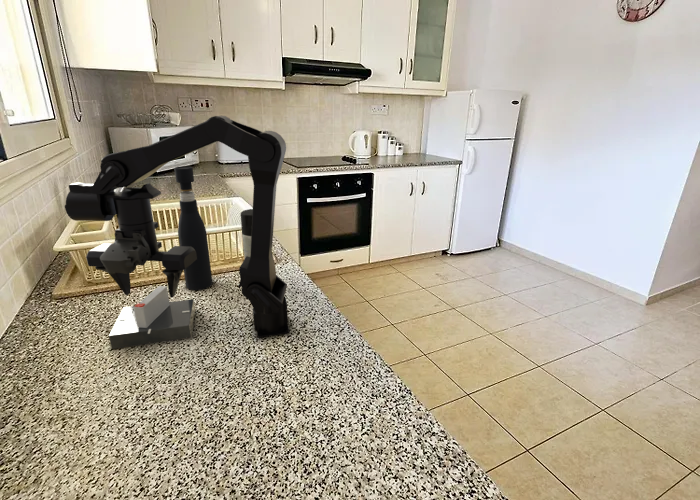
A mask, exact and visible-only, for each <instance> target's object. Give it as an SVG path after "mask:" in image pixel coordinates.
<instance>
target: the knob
mask: <svg viewBox="0 0 700 500" xmlns="http://www.w3.org/2000/svg"><path fill="white" fill-rule="evenodd" d="M170 302H171V301H170V295H169V290H168V285H165V286H164V285H158V286H157V287H156V288H154V289H153V290H152V291H151V292H150V293H149V294H147V295H145V297H144V298H143V299H141V300H140V302H137V303H136V304H134V306H135V307H134V312H135V316H136V321H137V326H138V328H147V327H148V326H149V325H150V324H151V323H152V322H153V321H154V320H155V319H156V318H157V317H158V316H159V315H160V314H161V313H162V312H163V311H164V310H165V309H166V308H168V307H169V306H170Z"/></svg>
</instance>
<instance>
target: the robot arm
mask: <svg viewBox="0 0 700 500" xmlns="http://www.w3.org/2000/svg"><path fill="white" fill-rule="evenodd" d="M218 142H219V143H221V144H224V145H225V146H227V147H229V148H230V149H231V150H234V151H236V152H237V153H239V154H241V155H244V156H246V157H247V159H248V166H249V167H248V169H249V172H250V175H251V179H252V183H253V193H252V195H253V196H252V209H253V212H252V233H251V254H250V257H248V256H246V257H245V258H244V259H243V261H242V262H241V264H240V266H239V267H238V269H239V270H238V271H239V272H238V273H239V283H238V285H237V287H238V288H241V290H240V291H241V294H242V296H243V297H245V299H246V300H247V301H249V302H250V304H251V306H252V308H251V309H252V321H253V330H254V331H255V332H256V337H257V338H258V339H261V338H263V339H264V338H269V337H276V336H282V335H289V334H290V333H291V329H290V326H289V316H288V315H289V314H288V301H287V298H286V291H287V287H288V284H287V283H286V282H285V281H284V280H283V279H282V278H280V277H279V275H277V271H276V263H275V258H274V256H273V240H274V227H275V223H274V222H275V213H276V212H275V211H276V199H277V198H276V196H277V186H278V185H277V184H278V180H279V177H280V174H281V170H282V167H283V164H284V159H285V156H286V152H287V143H286V140H285V139H284V138H283V136H282V135H281V134H279V133H278V132H276V131H275V130H265V131H262V130H259V129H257V128H254V127H251V126H248V125H247V124H243V123H241V122H238V121H235V120H233V119H231V118H230V117H228V116H226V115H214V116H211V117H209V118H208V119H206V120H205V121H203V122H200V123H198V124H196V125H194V126H191V127H189V128H187V129H184V130H182V131H179V132H178V133H175V134H172V135H170V136H167V137H165V138H163V139H160V140H158V141H156V142H154V143H152V144H149V145H145V146H140V147H135V148H130V149H126V150H121V151H117V152H113V153H108V154H106V155H104V156H103V157H102V158H101V159H100V172H99V173H98V176H97V177H96V179H95V181H94V182H93V183H86V182H73V183H70V184H69V185H68V190H69V191H68V193H67V195H66V197H65V204H64V210H65V212H66V214H67V217H69V219H71V220H73V221H76V222H110V221H112V220H113V219H114V218H115V216H116V220H117V223H118V224H117V225H118V228H116V229H114V241H113V242H103V243H101V244H100V245H97V246H95V247H94V248H92V249H90V250H88V251H87V253H86V256H85V259H86V262H87V266H88V267H94V268H95V270H97V271H101V272H105V273H106V274H108V275H109V276H110V277H111V278H112V279H113V280H114V281H115V283H116V285H117V287H118V288H119V289H120V290H121V291H122V293H123V294H124V295H125V296H129V295H130V294H131V290H132V289H131V276H130V275H131V274H132V273H134V272H135V270H136V269H137V267H138V266H144V265H145V264H146V263H147V262H161V265H162V267H163V268H164V269H163V270H162V273H163V274H164V275H165V276H166V282H167V290H168V295H169V298H174V297H175V296H176V293H177V289H178V286H179V283H180V280H181V277H182V275H183V273H184V269H186V268H187V267H188V266H189V265H191V264H192V263H193V262H194V261H195V260H196V259H197V256H196V251H195V250H194V249H193V248H192V247H190V246H180V245H174V246H173V247H171V248H169V249H167V250H166V251H165V250H164V251H163V250H162V251H161V250H159V249H161V248H163V245H162V241H158V239H157V233H156V229H158V228H159V227H160V226H159V222H158V221H154V215H153V210H152V205H151V200H153V199H155V198H157V197H159V196H161V195H162V191H160V190H159V189H158V188H156V187H155V186H153V185H152V183H150V182H148V183H145V184H143V185H142V186H141V187H139V186H137V187H133V185H134V184H137V183H139V182H142V181H144V180H145V179H147V178H150V176H152V175H153V174H154V173H156V172H157V171H159V170H160V169H162V167H164V166H165V165H166V164H168V163H170V162H172V161H174V160H178V159H180V158H182V157H185V156H187V155H189V154H192V153H194V152H196V151H199V150H201V149H203V148H206V147H208V146H211V145H214V144H215V143H218ZM131 186H132V187H131ZM120 188H122V189H123V188H124V189H123V190H122V191H116V190H118V189H120Z"/></svg>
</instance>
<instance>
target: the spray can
mask: <svg viewBox="0 0 700 500" xmlns="http://www.w3.org/2000/svg"><path fill="white" fill-rule="evenodd" d="M252 212H253V208H249V209H244V210H242V211H241V212H240V226H241V237H242V247H243V257H244V259H245V257H246V256H248V257H250V254H251V233H252Z"/></svg>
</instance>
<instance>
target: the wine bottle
mask: <svg viewBox="0 0 700 500" xmlns="http://www.w3.org/2000/svg"><path fill="white" fill-rule="evenodd" d="M173 169H174V176H175V182H176V183H177V184H179V188H180V189H179V190H180V191H181V192H179V199H180V200H179V201H178V203H179V208H180V214H179V218H178V219H179V220H178V224H177V225H178V226H177V236H178V243H179V246H190V247H192V248H193V249H194V250H195V251H196V256H197V259H196V260H195V261H194V262H193V263H192V264H191V265H189V266H188V267H187V268H186V269H184V270H183V276H184V283H185V287H186V289H187V290H190V291H202V290H206V289H208V288H211V286H212V285H213V283H214V282H213V275H212V266H211V260H210V259H211V258H210V252H209V243H208V242H209V241H208V233H207V228H206V225H205V223H204V220H203V219H202V216H201V214H200V213H199V210H198V202H197V199H196V193H195V192H194V191H193V189H194V188H193V186H192V185H193V182H195V176H194V168H193V166H188V165H187V166H185V165H184V166H176V167H174V168H173Z"/></svg>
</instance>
